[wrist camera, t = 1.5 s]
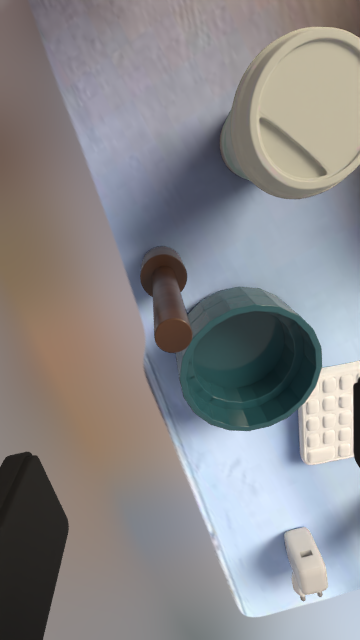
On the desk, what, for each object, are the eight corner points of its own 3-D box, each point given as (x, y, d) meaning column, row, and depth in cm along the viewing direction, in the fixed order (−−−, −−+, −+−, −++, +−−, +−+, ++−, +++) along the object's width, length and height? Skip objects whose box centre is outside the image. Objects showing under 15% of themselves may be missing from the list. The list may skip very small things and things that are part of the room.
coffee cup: (187, 112, 27) (214, 62, 16) (284, 63, 27) (380, -24, 16) (225, 211, 31) (268, 225, 20) (311, 169, 30) (407, 160, 19)
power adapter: (316, 568, 52) (336, 613, 47) (286, 576, 52) (302, 621, 47) (310, 522, 48) (331, 565, 42) (278, 530, 48) (294, 574, 43)
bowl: (163, 300, 33) (166, 323, 28) (291, 273, 33) (319, 290, 28) (187, 406, 38) (194, 443, 33) (298, 381, 38) (324, 414, 33)
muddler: (136, 251, 31) (126, 309, 16) (178, 242, 31) (204, 292, 17) (146, 290, 33) (145, 376, 18) (186, 282, 33) (216, 360, 18)
